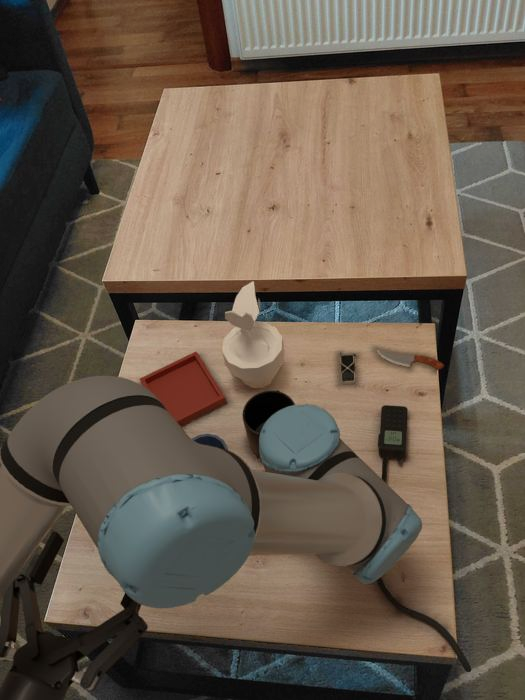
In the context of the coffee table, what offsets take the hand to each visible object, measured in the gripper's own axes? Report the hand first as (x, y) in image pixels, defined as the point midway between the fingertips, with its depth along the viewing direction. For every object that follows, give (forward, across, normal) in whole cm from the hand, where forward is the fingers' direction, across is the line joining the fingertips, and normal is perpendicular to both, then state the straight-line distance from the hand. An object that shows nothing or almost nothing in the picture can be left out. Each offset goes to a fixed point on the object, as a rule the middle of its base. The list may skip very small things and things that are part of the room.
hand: (101, 547), depth 88 cm
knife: (+54, +33, -19) cm, 66 cm away
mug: (+34, +13, -20) cm, 41 cm away
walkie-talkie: (+43, +32, -18) cm, 57 cm away
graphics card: (+51, +20, -19) cm, 58 cm away
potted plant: (+47, +5, -20) cm, 51 cm away
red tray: (+39, -8, -20) cm, 44 cm away
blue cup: (+22, +5, -20) cm, 30 cm away
